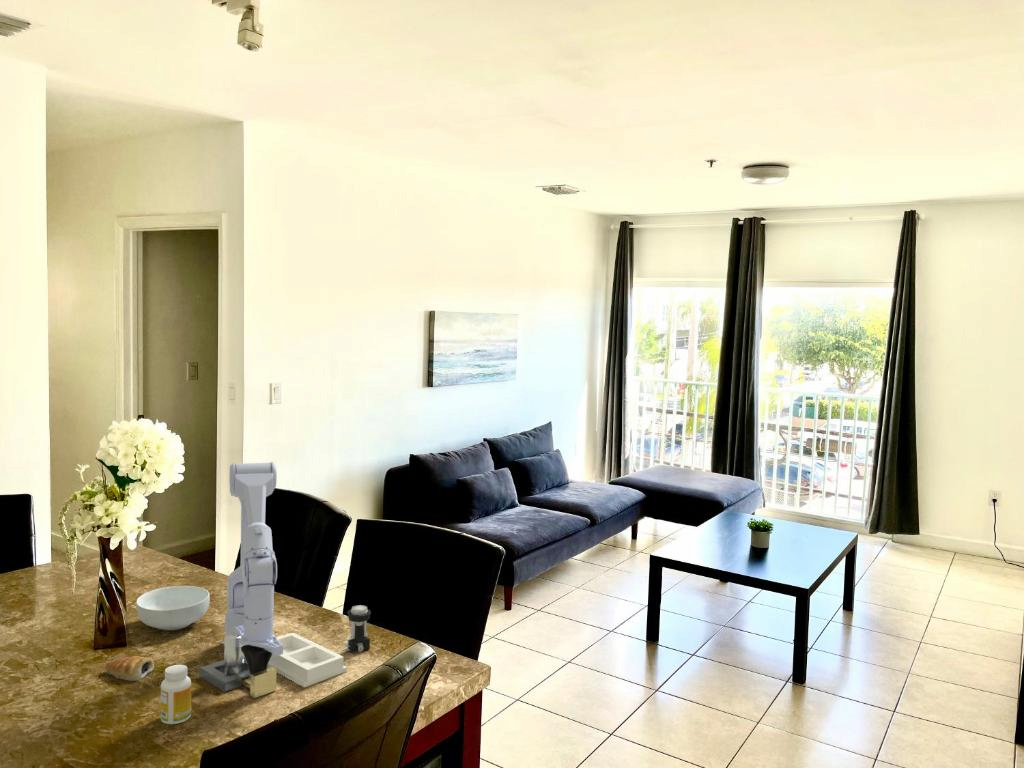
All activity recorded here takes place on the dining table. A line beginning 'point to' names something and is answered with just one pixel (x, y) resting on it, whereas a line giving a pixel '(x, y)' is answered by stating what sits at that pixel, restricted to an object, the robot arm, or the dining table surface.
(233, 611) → the robot arm
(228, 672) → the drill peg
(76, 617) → the dining table surface
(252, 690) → the cream block
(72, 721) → the dining table surface
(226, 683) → the socket
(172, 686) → the supplement bottle
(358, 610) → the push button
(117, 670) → the pastry
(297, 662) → the tray
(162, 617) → the cereal bowl
